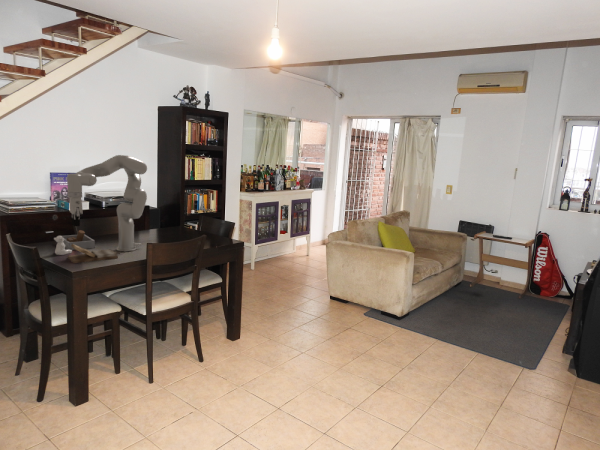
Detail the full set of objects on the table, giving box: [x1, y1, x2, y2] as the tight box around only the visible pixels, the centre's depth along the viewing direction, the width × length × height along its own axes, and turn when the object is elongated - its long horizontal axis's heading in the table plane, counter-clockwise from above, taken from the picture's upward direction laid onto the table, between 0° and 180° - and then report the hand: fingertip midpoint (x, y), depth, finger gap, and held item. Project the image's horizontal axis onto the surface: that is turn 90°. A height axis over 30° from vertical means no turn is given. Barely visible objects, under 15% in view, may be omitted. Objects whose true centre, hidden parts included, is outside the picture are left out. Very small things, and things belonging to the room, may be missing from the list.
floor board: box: [67, 248, 119, 264], centre depth 264 cm, size 25×14×3 cm, turn 132°
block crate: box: [61, 234, 96, 251], centre depth 293 cm, size 16×24×5 cm, turn 41°
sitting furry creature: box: [53, 235, 73, 256], centre depth 268 cm, size 10×9×12 cm
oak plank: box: [71, 244, 95, 257], centre depth 260 cm, size 11×12×2 cm
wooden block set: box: [67, 229, 86, 242], centre depth 293 cm, size 18×9×10 cm, turn 152°
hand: (75, 225), depth 255 cm, fingers open, 2 cm apart
